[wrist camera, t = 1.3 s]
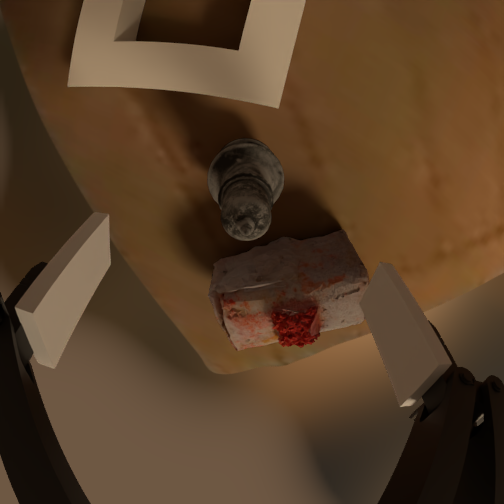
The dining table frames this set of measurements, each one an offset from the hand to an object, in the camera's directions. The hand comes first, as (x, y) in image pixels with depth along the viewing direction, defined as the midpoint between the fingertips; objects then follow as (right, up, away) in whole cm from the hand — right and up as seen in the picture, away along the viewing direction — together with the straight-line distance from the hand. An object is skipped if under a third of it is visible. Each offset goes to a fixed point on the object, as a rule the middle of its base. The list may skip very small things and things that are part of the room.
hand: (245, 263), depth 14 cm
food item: (+4, -1, +17) cm, 18 cm away
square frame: (-4, +21, +4) cm, 21 cm away
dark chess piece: (0, +8, +12) cm, 14 cm away
